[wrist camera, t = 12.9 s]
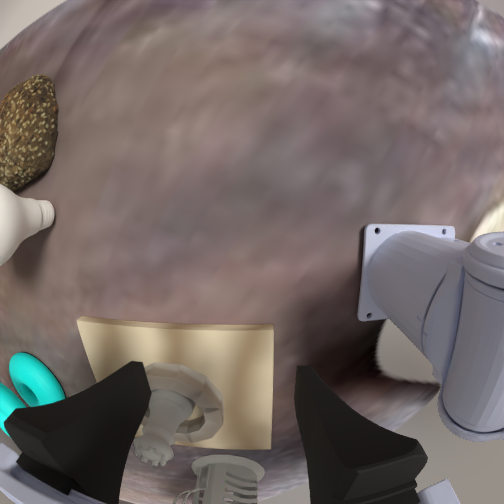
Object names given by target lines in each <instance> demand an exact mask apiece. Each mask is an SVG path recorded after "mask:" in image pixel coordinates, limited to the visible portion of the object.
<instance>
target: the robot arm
mask: <svg viewBox="0 0 504 504" xmlns="http://www.w3.org/2000/svg"><path fill="white" fill-rule="evenodd" d="M376 228H378V232H377V233H376V234H375V229H376ZM442 230H444V232H443V234H442ZM368 313H371V314H370V315H369V316H368V317H367V314H368ZM357 317H358V319H359V320H360V321H372V320H381V319H390V320H391V321H392V322H393V323H394V324H395V325H396V326H397V327H398V328H399V329H400V330H401V331H402V332H403V333H404V334H405V335H406V336H407V337H408V339H409V340H410V341H411V342H412V343H413V344H414V345H415V346H416V347H417V348H418V349H419V350H420V351H421V353H422V354H423V355H424V356H425V357H426V358H427V359H428V360H429V361H430V362H431V364H432V365H433V376H434V377H435V378H436V379H437V380H438V382H439V383H440V384H441V385H442V387H441V390H440V393H439V396H438V403H437V404H438V412H439V416H440V418H441V420H442V422H443V423H444V425H445V426H446V427H447V428H448V429H449V430H450V431H451V432H452V433H454V434H455V435H457V436H458V437H460V438H463V439H465V440H469V441H474V442H475V441H476V442H484V441H490V440H499V439H504V232H493V233H487V234H483V235H480V236H478V237H477V238H476V239H475V240H474V241H473V242H472V243H468V242H465V241H462V240H459V239H455V229H454V227H453V226H444V225H411V224H368V225H366V227H365V229H364V247H363V262H362V275H361V286H360V296H359V304H358V313H357ZM151 394H152V392H151V389H150V386H149V382H148V379H147V375H146V372H145V368H144V365H143V362H137V361H131V362H129V363H127V364H126V365H124V366H123V367H121V368H120V369H118V370H117V371H115V372H114V373H112V374H111V375H109V376H108V377H106V378H105V379H103V380H101V381H100V382H98V383H96V384H95V385H93V386H91V387H89V388H88V389H86V390H84V391H82V392H80V393H78V394H76V395H73V396H71V397H68V398H66V399H63V400H60V401H57V402H54V403H50V404H46V405H41V406H35V407H27V408H16V409H15V410H14V411H13V412H12V413H11V414H10V415H9V417H8V418H7V419H6V420H5V421H4V427H5V429H6V431H7V433H8V434H9V436H10V437H11V438H12V440H13V441H14V442H15V444H16V445H17V446H18V448H19V449H20V450H21V451H22V454H21V455H20V456H19V455H18V454H17V453H16V452H15V451H13V450H12V449H11V448H9V447H8V446H6V445H5V444H4V443H1V444H0V490H1V491H2V492H3V493H4V494H5V495H6V496H7V497H9V498H10V499H11V500H12V501H13V502H15V503H16V504H118V503H119V494H120V487H121V482H122V476H123V472H124V468H125V464H126V460H127V456H128V453H129V450H130V447H131V444H132V442H133V439H134V437H135V435H136V433H137V431H138V429H139V426H140V424H141V422H142V420H143V418H144V416H145V413H146V411H147V408H148V405H149V402H150V398H151ZM294 400H295V410H296V417H297V421H298V425H299V430H300V434H301V438H302V442H303V446H304V450H305V454H306V460H307V468H308V477H309V488H310V501H311V504H460V502H459V500H458V498H457V496H456V494H455V492H454V490H453V488H452V486H451V484H450V482H449V480H448V479H444V480H442V481H440V482H438V483H436V484H434V485H432V486H430V487H427V488H425V489H423V490H422V491H420V492H419V493H416V490H415V488H416V487H417V483H416V481H415V478H416V477H417V475H418V474H419V473H420V472H421V470H422V469H423V468H424V466H425V464H426V463H427V459H428V457H427V455H426V453H425V451H424V450H423V448H422V446H421V445H420V443H419V442H418V441H417V440H416V439H413V438H410V437H406V436H403V435H400V434H397V433H394V432H392V431H390V430H387V429H385V428H383V427H381V426H379V425H377V424H375V423H373V422H371V421H370V420H368V419H366V418H365V417H363V416H361V415H360V414H359V413H357V412H356V411H354V410H353V409H352V408H351V407H349V406H348V405H347V404H346V403H345V402H344V401H342V400H341V399H340V398H339V397H338V396H337V395H336V394H335V393H334V392H333V391H332V390H331V389H330V388H329V387H328V386H327V384H326V383H325V382H324V381H323V380H322V379H321V377H320V376H319V375H318V374H317V372H316V371H315V370H314V369H313V367H312V366H311V365H307V366H297V372H296V385H295V396H294Z"/></svg>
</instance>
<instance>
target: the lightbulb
mask: <svg viewBox="0 0 504 504" xmlns="http://www.w3.org/2000/svg"><path fill="white" fill-rule="evenodd" d="M54 215H55V213H54V208H53V206H52V204H51V203H50V202H49V201H47V200H35V199H32V198H21V197H19V196H17V195H16V194H14V193H13V192H12V191H11V190H9V189H8V188H6V187H5V186H3V185H2V184H0V265H2V264H4V263H5V262H6V261H7V260H8V259H10V257H11V256H12V255H13V253H14V252H15V251H16V249H17V248H18V246H19V245H20V243H21V242H22V241H23V240H24V239H26V238H28V237H29V236H32V235H34V234H36V233H37V232H38V231H39V230H42V229H45V228H48V227H50V226H51V225H52V223H53V220H54Z"/></svg>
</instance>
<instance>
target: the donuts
mask: <svg viewBox="0 0 504 504" xmlns="http://www.w3.org/2000/svg"><path fill="white" fill-rule="evenodd" d="M9 372H10V376H11V379H12V382H13V384H14V386H15V388H16V390H17V391H18V393H19V394H20V396H21V397H22V398H23V399H24V401H25V402H26V403H27V404H28V405H29V406H31V407H35V406H41V405H46V404H50V403H54V402H57V401H60V400H63V399H66V398H65V395H64V392H63V390H62V387H61V386H60V384H59V382H58V381H57V379H56V378H55V377H54V375H53V374H52V373H51V371H50V370H49V369H48V368H47V367H46V366H45V365H44V364H43V363H42V362H40V361H39V360H38V359H37V358H35V357H34V356H32V355H30V354H27V353H16V354H15V355H13V357H12V358H11V360H10V363H9ZM16 408H27V407H26V406H25V405H24V404H23V403H22V401H21V400H20V399H19V398H18V397H17V396H16V395H15V394H14V393H13V392H12V391H11V390H10V389H9V388H7V387H6V386H5V385H3V384H2V383H0V428H1V429H2V430H3V431H4V432H5V433H6V434H7V435H8V436H9V434H8V433H7V431H6V429H5V427H4V421H5V420H6V419H7V418H8V417H9V415H10V414H11V413H12V412H13V411H14V410H15V409H16Z"/></svg>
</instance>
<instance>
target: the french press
mask: <svg viewBox="0 0 504 504" xmlns="http://www.w3.org/2000/svg"><path fill="white" fill-rule="evenodd" d="M191 468H192V470H193V471H194V473H195V474H196V475H197V480H196V486H195V489H193V490H187V491H184V492H181V493H180V494H179V495H178V496H177V497H176V498H175V500H174V502H173V504H175V503H176V501H177V499H178V498H179V497H180V496H181V495H182V494H184V493H186V492H189V493H188V494H187V495H186V496H185V498H184V500H183V503H182V504H185V501H186V499H187V498H188V496H189V495H190V494H191V493H192V492H194V496H193V502H192V504H257V489H258V488H257V482H258V481H260V480H261V479H262V478H263V476H264V475H265V471H264V468H263V467H262V466H261V465H259V464H258V463H257V462H255V461H252V460H249V459H247V458H244V457H238V456H233V455H209V456H204V457H200V458H198V459H197V460H195V461H193V463H192V467H191ZM255 487H256V488H255ZM200 490H203V491H204V494H202V493H200ZM225 491H230V492H234V495H231V494H229V493H227V492H225ZM199 496H200V497H203V501H201V500H199ZM224 498H230V499H232V500H233V502H230V501H224Z"/></svg>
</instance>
